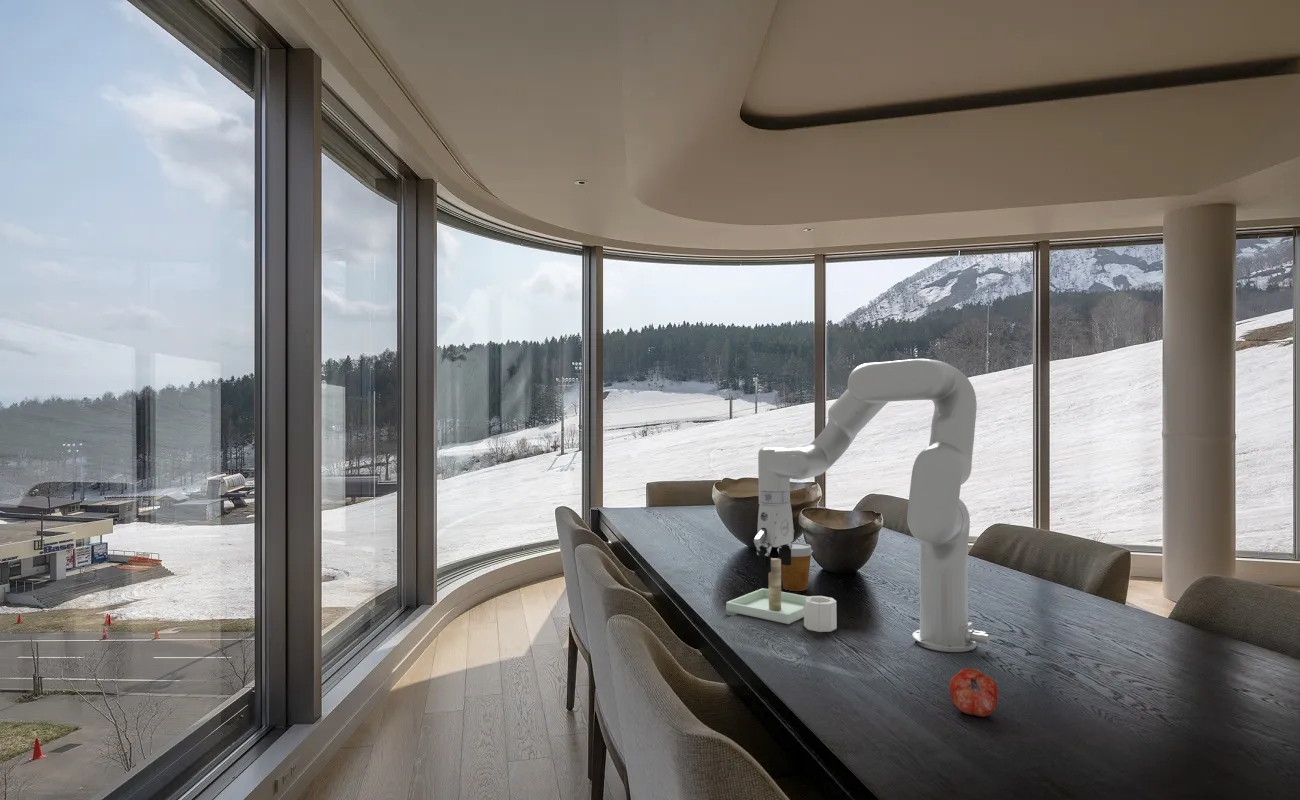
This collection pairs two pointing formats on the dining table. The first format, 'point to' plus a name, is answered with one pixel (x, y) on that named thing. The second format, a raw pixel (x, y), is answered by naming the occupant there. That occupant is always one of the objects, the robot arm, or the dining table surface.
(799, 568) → the disposable coffee cup
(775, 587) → the wooden pin
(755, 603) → the tray
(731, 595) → the dining table surface
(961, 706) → the red tomato
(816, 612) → the cup holder
